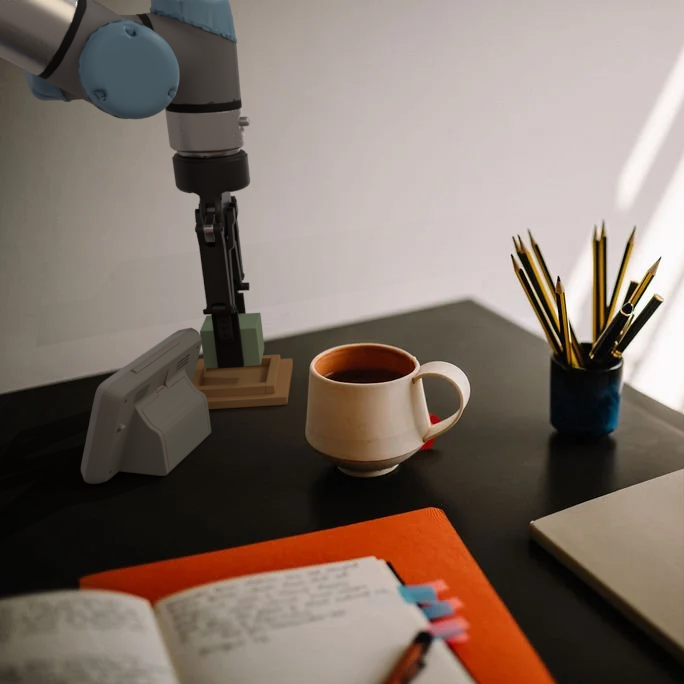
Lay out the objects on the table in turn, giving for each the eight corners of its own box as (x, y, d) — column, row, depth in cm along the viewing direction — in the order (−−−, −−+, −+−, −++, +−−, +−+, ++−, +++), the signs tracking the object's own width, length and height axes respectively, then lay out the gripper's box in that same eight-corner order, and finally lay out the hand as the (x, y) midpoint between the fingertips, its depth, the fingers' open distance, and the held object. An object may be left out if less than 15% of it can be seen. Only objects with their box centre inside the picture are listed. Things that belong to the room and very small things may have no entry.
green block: (204, 368, 100) (199, 331, 98) (211, 351, 105) (206, 315, 103) (260, 365, 101) (256, 327, 99) (264, 348, 106) (260, 312, 104)
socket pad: (174, 411, 98) (171, 395, 97) (190, 371, 108) (188, 355, 108) (287, 404, 100) (285, 388, 99) (293, 365, 110) (291, 350, 109)
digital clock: (175, 410, 99) (162, 318, 95) (243, 425, 95) (233, 331, 91) (55, 481, 85) (33, 377, 81) (130, 501, 81) (112, 394, 77)
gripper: (236, 166, 86) (261, 387, 95) (255, 135, 103) (274, 326, 112) (154, 168, 85) (186, 392, 94) (186, 136, 102) (211, 329, 110)
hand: (234, 356), depth 103 cm, fingers closed on green block, 5 cm apart
